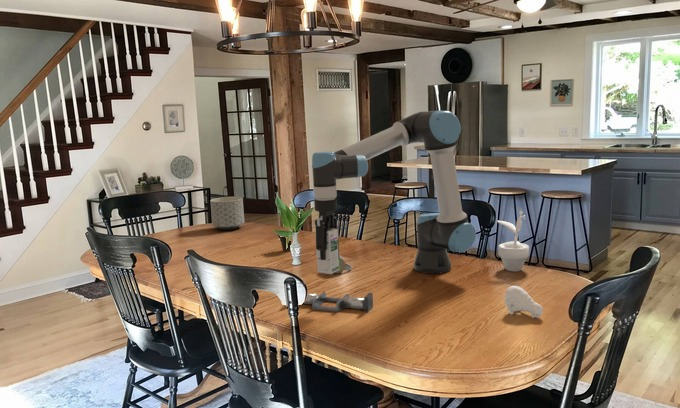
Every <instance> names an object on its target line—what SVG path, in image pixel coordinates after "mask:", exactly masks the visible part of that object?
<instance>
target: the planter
mask: <svg viewBox="0 0 680 408" xmlns="http://www.w3.org/2000/svg"><path fill="white" fill-rule="evenodd" d="M209 202H210V211H211V213H210V215H211V224H212V226H213V227H215V228H217V229H220V230H222V231H232V230H236V229H238V228H239V227H241V225H244V224H245V213H244V212H245V211H244V209H245V208H244V199H243V197H241V196H223V197H221V196H220V197H217V198H212V199H210V200H209Z"/></svg>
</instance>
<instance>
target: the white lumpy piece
mask: <svg viewBox="0 0 680 408" xmlns="http://www.w3.org/2000/svg"><path fill="white" fill-rule="evenodd" d="M503 298H504V303H505V305H506V308H507V311H508V313H509V315H511V316H513V315H514V313H515V312H520V311H521V312H526V313H530V314H531V316H530V317H531V318H532V319H535V318H536V319H539V318H540V316H542V315H543V312H544V309H543V307H542V305H541V304H539V303H537V302H536V301H534V299H533V298H532V297H531V296H530V295H529V293H528V292H527V291H526V290H525V288H522V287H520V286H518V285H511V286H510V287H508V288H507V289H506V290H505V295H504V297H503Z"/></svg>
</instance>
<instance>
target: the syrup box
mask: <svg viewBox="0 0 680 408" xmlns="http://www.w3.org/2000/svg"><path fill="white" fill-rule="evenodd" d="M314 234H315V235H314V236H315V237H314V239H316V231H314ZM339 242H340V241H339V228H338V229H336V228H330V229H329V230H328V231H327V249H326V250H328V261H329V269H321V267H320V250H317V249H316V248H315V251H316V264H317V273H320V274H326V275H327V274H328V275H333V274H335V273H334V272H336V271H338V270H340V255H341V254H340V243H339ZM339 254H340V255H339Z"/></svg>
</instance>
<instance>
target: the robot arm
mask: <svg viewBox="0 0 680 408" xmlns="http://www.w3.org/2000/svg"><path fill="white" fill-rule="evenodd" d="M461 132H462V126H461V123H460V120H459V118H458V116H456V115H455V114H454V113H453V112H452V111H448V110H441V109H440V110H429V111H419V112H416V113H412V114H411V115H409V116H406V117H405V118H402V119H400V120H398V121H396V122H394V123H393V124H392V126H391V127H388V128H386V129H384V130H381V131H379V132H377V133H375V134H373V135H370V136H368V137H366V138H364V139H362V140H359V141H357V142H355V143H352V144H350V145H348V146H346V147H344V148H342V149H339V150H337V151H316V152H314V153H313V154H312V157H311V168H312V180H313V181H312V182H313V189H312V191H313V198H314V200H313V202H314V210H315V212H318V219H314V224H315V232H316V238H315V250H316V249H317V250H320V267H321V269H329V261H328V250H326V249H327V231H328V230H329V229H330V228H336V229H338V230H339V228H338V213H337V212H334V211H337V209H338V199H337V196H338V195H337V180H342V179H344V180H345V179H354V178H356V179H357V178H362V177H365V176H366V175H367V173H368V171H369V161H368V160H370V159H373V158H375V157H378V156H379V155H381V154H384V153H385V152H388V151H390V150H392V149H395V148H397V147H399V146H401V147H405V146H407V145H410V144H414V143H415V144H416V143H423V144H424V150H425V152H427V153H428V154H429V155H430V156H429V157H430V161H431V168H432V176H433V181H434V182H433V183H434V187H435V194H436V199H437V207H438V211H439V212H431V213H423V214H420V215H418V216H417V219H416V235H417V252H416V256H415V259H414V261H413V262H414V263H413V269H414V270H415V271H416V272H418V273H421V274H432V275H434V274H444V273H448V272H450V271H451V270H452V262H451V259H450V256H449V253H448V251H447V250H449V251H451V252H455V253H464V252H466V251H469V249H471V247H472V246H473V244H474V243H475V241H476V238H477V237H476V236H477V232H476V228H475V226H474V225H473V224H472V223H470V222H469V219H468V214H467V213H466V212H464V211H463V208H462V201H461V195H460V194H461V193H460V186H459V181H458V174H457V167H456V161H455V160H456V159H455V154H454V149H456V147H457V141H458V139H459V138H460V135H461Z"/></svg>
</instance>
